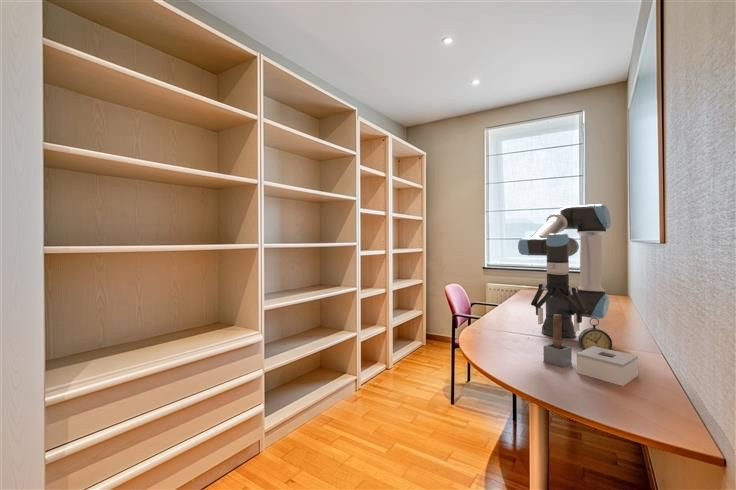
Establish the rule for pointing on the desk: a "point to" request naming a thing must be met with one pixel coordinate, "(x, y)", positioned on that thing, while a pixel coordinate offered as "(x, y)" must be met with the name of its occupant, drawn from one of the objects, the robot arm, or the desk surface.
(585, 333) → the alarm clock
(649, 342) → the desk surface
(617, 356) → the white box
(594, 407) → the desk surface
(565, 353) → the pen cup
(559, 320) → the brown wooden rod
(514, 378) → the desk surface
